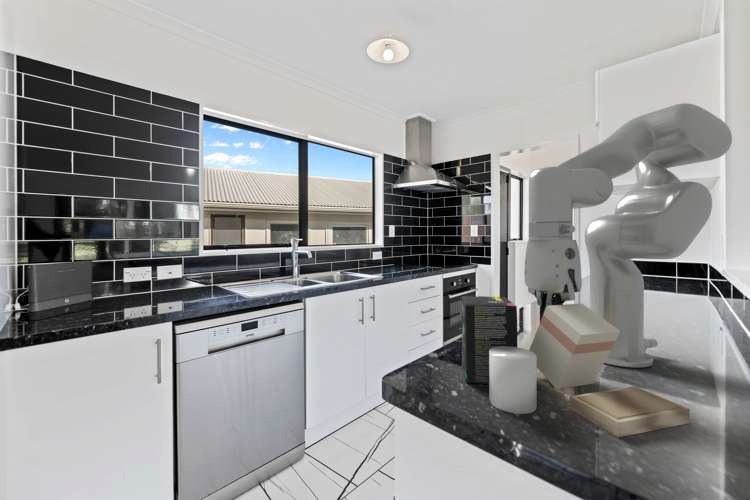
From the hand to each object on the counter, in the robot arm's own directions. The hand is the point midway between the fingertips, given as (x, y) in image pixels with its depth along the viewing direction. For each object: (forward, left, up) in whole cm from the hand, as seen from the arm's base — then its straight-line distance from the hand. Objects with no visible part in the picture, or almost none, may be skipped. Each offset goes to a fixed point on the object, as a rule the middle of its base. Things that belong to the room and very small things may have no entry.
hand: (549, 326), depth 62 cm
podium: (+1, +16, -9) cm, 18 cm away
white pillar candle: (+14, +8, -9) cm, 19 cm away
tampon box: (+11, -3, -10) cm, 15 cm away
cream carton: (0, +2, -8) cm, 8 cm away
